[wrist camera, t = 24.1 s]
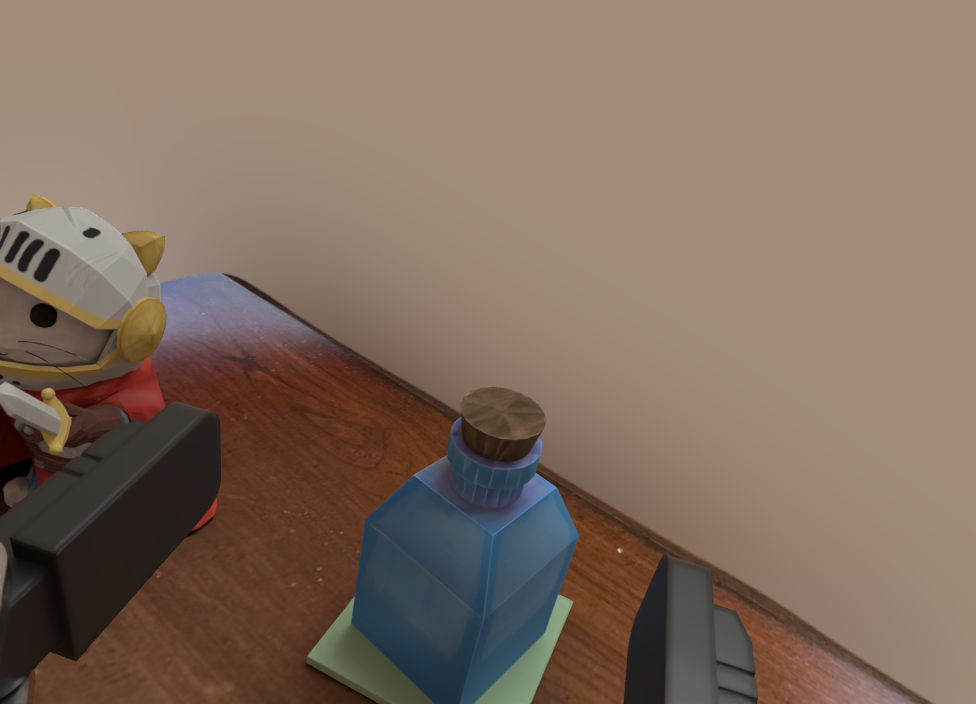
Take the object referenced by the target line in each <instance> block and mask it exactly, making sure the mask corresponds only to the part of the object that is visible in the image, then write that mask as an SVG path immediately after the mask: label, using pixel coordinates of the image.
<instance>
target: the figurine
mask: <svg viewBox="0 0 976 704" xmlns="http://www.w3.org/2000/svg"><path fill="white" fill-rule="evenodd" d="M164 244H165V236H162V235H160V234H157V233H154V232H149V231H133V232H128V233H123V234H120V233H119V232H118V231H117V230H116V228H114V226H112V225H111V224H109V223H108V222H106V221H104V220H103V219H101V218H100V217H98V216H96V215H95V214H93V213H92V212H90V211H89V210H87V209H85V208H80V207H56V206H55V205H54V204H53V203H52V202H51V201H49V200H48V199H46V198H44V197H41V196H37V195H34V194H33V195H32V197H31V199H30V201H29V203H28V205H27V209H26V211H24V212H21V213H18V214H14V215H11V216H8V217H5V218H2V219H0V468H2V467H5V466H8V465H11V464H14V463H17V462H21V461H24V460H27V459H30V458H32V460H33V463H32V465H31V467H30V471H29V473H28V475H27V476H26V477H17V478H15V479H13V480H11V481H10V482H8V483H7V484H6V485H5V486H4V489H3V491H4V498H5V502H6V504H7V505H8V506H10V507H13V506H15V505H16V504H17V503H18V502H20V501H21V500H22V499H23V498H25V497H26V496H27V495H28V494H30V493H31V492H32V491H33V490H35V489H36V488H37V487H39V486H40V485H41V484H42V483H44V482H45V481H46V480H47V479H49V478H50V477H51V476H52V475H54V474H55V473H56V472H57V471H58V472H61V471H62V469H63V467H64V466H65V465H66V464H67V463H69V462H70V461H71V460H72V459H74V458H75V457H76V456H81V454H82V451H84V450H85V449H86V448H87V447H89V446H90V445H91V444H92V443H94V442H95V441H96V440H97V439H99V438H100V437H101V436H102V435H104V434H105V433H107V432H109V431H111V430H114V429H116V428H119V427H121V426H123V425H126V424H128V423H130V422H133V421H135V420H139V421H142V422H145V423H146V422H148V421H149V420H150V419H151V418H152V417H153V416H155V415H156V414H157V413H158V412H159V411H161V410H162V409H163V408H164V407H165V403H164V400H163V397H162V394H161V391H160V388H159V385H158V381H157V378H156V374H155V371H154V367H153V364H152V360H151V359H150V357H149V356H150V355H151V354H152V353H153V352H154V350H155V349H156V348H157V346H158V345H159V343H160V341H161V339H162V337H163V334H164V330H165V327H166V311H165V308H164V305H163V304H162V303H161V287H160V283H159V281H158V278H157V275H156V273H155V269H156V267H157V265H158V264H159V262H160V260H161V258H162V254H163V251H164ZM216 506H217V499H216V498H215V500H214V503H213V504H212V506H211V508H210V509H209V511H208V512H207V513H206V514H205V515H204V517H203V518H202V519H201V520H200V521H199V522H198V523H197V525H196V526H195V527H194V528H193V529H192V530H191V531H193V530H196V529H198V528H199V527H201V526H202V525H203V524H204V523H205V522H207V521H208V520H209V519H210V518H211V517H213V516H214V515H215V513H216Z"/></svg>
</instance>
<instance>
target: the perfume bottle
mask: <svg viewBox="0 0 976 704" xmlns="http://www.w3.org/2000/svg"><path fill="white" fill-rule="evenodd" d="M545 423H546V418H545V414H544V412H543V410H542V409H541V407H540V406H539V405H538V404H537V403H535V402H534V401H533V400H532V399H531V398H529V397H527V396H525V395H523V394H521V393H519V392H516V391H513V390H509V389H505V388H496V387H488V388H480V389H476V390H473V391H471V392H469V393H468V394H467V395H465V396H464V398H463V399H462V402H461V417H460V418H459V419H458V420H456V421H455V423H454V425H453V427H452V429H451V433H450V438H449V443H448V448H447V456H445V457H444V458H442V459H440V460H438V461H437V462H435V463H433V464H431V465H430V466H428V467H426V468H425V469H423V470H421V471H419V472H418V473H416V474H414V475H413V476H412V477H411V478H410V479H409V480H407V481H406V482H405V483H404V484H403V485H402V486H401V487H400V488H399V489H398V490H397V491H396V492H394V493H393V494H392V495H391V496H390V497H389V498H388V499H387V500H386V501H385V502H384V503H383V504H381V505H380V506H379V507H378V508H377V509H376V510H375V511H374V512H373V513H372V514H371V515H370V516H369V517H367V518H366V519H365V525H364V533H363V540H362V547H361V554H360V562H359V569H358V576H357V584H356V591H355V598H354V605H353V613H352V620H351V623H352V624H353V625H354V626H355V627H356V628H357V629H358V630H359V631H360V632H361V633H362V634H363V635H364V636H365V637H366V638H367V639H368V640H369V641H370V642H372V643H373V644H374V645H375V646H376V647H377V648H378V649H379V650H380V651H381V652H382V653H383V654H384V655H385V656H386V657H387V658H388V659H389V660H390V661H391V662H392V663H393V664H394V665H395V666H396V667H397V668H398V669H399V670H400V671H401V672H402V673H404V674H405V675H406V676H407V677H408V678H409V679H410V680H411V681H412V682H413V683H414V684H415V685H416V686H417V687H418V688H419V689H420V690H421V691H422V692H423V693H424V694H425V695H426V696H427V697H428V698H429V699H430V700H431V701H432V702H433V703H434V704H474V703H475V702H476V701H477V700H478V699H479V698H480V697H481V696H482V695H483V694H484V693H485V692H486V691H487V690H488V689H489V688H490V687H491V686H492V685H493V684H494V683H495V682H496V681H497V680H498V679H499V678H500V677H501V676H502V675H503V674H504V673H505V672H506V671H507V670H508V669H509V668H510V667H511V666H512V665H513V664H514V663H515V662H516V661H517V660H518V659H519V658H520V657H521V656H522V655H523V654H524V653H525V652H526V651H527V650H528V649H529V648H530V647H531V646H532V645H533V644H534V643H535V642H536V641H537V640H538V639H539V638H540V637H541V636H542V635H543V634H544V633H545V631H546V628H547V625H548V623H549V620H550V617H551V614H552V611H553V608H554V606H555V603H556V600H557V597H558V594H559V591H560V588H561V586H562V583H563V580H564V577H565V574H566V571H567V569H568V566H569V563H570V560H571V557H572V554H573V552H574V549H575V546H576V543H577V540H578V537H579V535H578V533H577V530H576V528H575V526H574V524H573V522H572V520H571V517H570V515H569V513H568V511H567V509H566V507H565V504H564V502H563V500H562V498H561V496H560V493H559V491H558V489H557V487H555V486H554V485H552V484H551V483H549V482H548V481H546V480H545V479H543V478H542V477H541V476H539V475H538V474H536V473H535V472H536V469H537V465H538V462H539V458H540V455H541V451H542V444H541V439H540V437H539V436H540V434H541V433H542V431H543V429H544V427H545Z"/></svg>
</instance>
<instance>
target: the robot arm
mask: <svg viewBox="0 0 976 704" xmlns="http://www.w3.org/2000/svg"><path fill="white" fill-rule="evenodd" d="M220 482H221V449H220V420H219V417H218V415H217V414H215V413H213V412H210V411H206V410H203V409H200V408H197V407H194V406H190V405H187V404H184V403H181V402H176V401H175V402H172V403H170V404H168V405H167V406H165V407H164V408H163V409H162V410H161V411H159V412H158V413H157V414H156V415H155V416H153V417H152V418H151V419H150V420H149V421H148V422H146V423H145V422H142V421H139V420H135V421H133V422H130V423H128V424H126V425H123V426H121V427H119V428H116V429H114V430H111V431H109V432H107V433H105V434H104V435H102V436H101V437H100V438H99V439H97V440H96V441H95V442H94V443H92V444H91V445H90V446H89V447H87V448H86V449H85V450H84V451H82V454H81V456H76V457H75V458H74V459H72V460H71V461H70V462H69V463H67V464H66V465H65V466H64V467H63V469H62V471H61V472H58V471H57V472H56V473H55V474H54V475H52V476H51V477H50V478H49V479H47V480H46V481H45V482H44V483H42V484H41V485H40V486H39V487H37V488H36V489H35V490H33V491H32V492H31V493H30V494H28V495H27V496H26V497H25V498H23V499H22V500H21V501H20V502H18V503H17V504H16V505H15V506H13V507H12V508H11V509H10V510H8V511H7V512H6V513H5V514H3V515H2V516H1V517H0V704H33V695H34V685H35V672H34V668H35V667H36V666H37V665H38V664H39V663H40V662H41V661H42V660H43V659H44V658H45V657H46V656H47V654H48V653H49V652H52V653H55V654H58V655H60V656H63V657H66V658H69V659H71V660H74V661H77V660H78V659H79V658H80V656H81V655H82V654H83V653H84V652H85V651H86V650H87V648H88V647H89V646H90V645H91V644H92V643H93V642H94V640H95V639H96V638H97V637H98V636H99V635H100V634H101V633H102V631H103V630H104V629H105V628H106V627H107V626H108V625H109V623H110V622H111V621H112V620H113V619H114V618H115V617H116V615H117V614H118V613H119V612H120V611H121V610H122V609H123V608H124V606H125V605H126V604H127V603H128V602H129V601H130V600H131V598H132V597H133V596H134V595H135V594H136V593H137V592H138V590H139V589H140V588H141V587H142V586H143V585H144V584H145V583H146V581H147V580H148V579H149V578H150V577H151V576H152V575H153V573H154V572H155V571H156V570H157V569H158V568H159V567H160V565H161V564H162V563H163V562H164V561H165V560H166V559H167V558H168V556H169V555H170V554H171V553H172V552H173V551H174V550H175V548H176V547H177V546H178V545H179V544H180V543H181V542H182V540H183V539H184V538H185V537H186V536H187V535H188V534H189V533H190V531H191V530H192V529H193V528H194V527H195V526H196V525H197V523H198V522H199V521H200V520H201V519H202V518H203V517H204V515H205V514H206V513H207V512H208V511H209V509H210V508H211V506H212V504H213V503H214V500H215V498H216V496H217V494H218V490H219V487H220ZM754 675H755V667H754V658H753V648H752V641H751V639H750V637H749V635H748V634H747V632H746V630H745V628H744V626H743V624H742V622H741V620H740V618H739V616H738V614H737V612H736V611H734V610H731V609H728V608H725V607H721V606H718V605H715V604H713V586H712V574H711V570H710V569H709V568H707V567H703V566H700V565H697V564H694V563H690V562H687V561H684V560H681V559H678V558H674V557H671V556H668V555H664V556H663V557H662V559H661V560H660V562H659V564H658V567H657V569H656V571H655V574H654V576H653V578H652V580H651V583H650V585H649V587H648V590H647V592H646V594H645V596H644V599H643V601H642V603H641V606H640V608H639V610H638V613H637V615H636V618H635V621H634V624H633V628H632V631H631V636H630V641H629V647H628V655H627V668H626V681H625V694H624V704H757V699H758V695H757V686H756V679H754Z"/></svg>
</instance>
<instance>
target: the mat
mask: <svg viewBox="0 0 976 704" xmlns="http://www.w3.org/2000/svg"><path fill="white" fill-rule="evenodd" d="M354 598H355V597H354ZM354 598H353V599H352V600H351V602H350V603H349V604H348V605H347V607H346V608H345V609H344V610H343V612H342V613H341V614H340V615H339V617H338V618H337V619H336V620H335V622H334V623H333V624H332V625H331V627H330V628H329V629H328V630H327V632H326V633H325V634H324V635H323V636H322V638H321V639H320V640H319V641H318V643H317V644H316V645H315V646H314V648H313V649H312V650H311V651H310V653H309V654H308V655H307V661H306V663H307V664H309V665H311V666H312V667H314V668H316V669H318V670H320V671H321V672H323V673H325V674H327V675H329V676H330V677H332V678H334V679H336V680H337V681H339V682H341V683H343V684H345V685H346V686H348V687H350V688H352V689H354V690H355V691H357V692H359V693H361V694H363V695H364V696H366V697H368V698H370V699H371V700H373V701H375V702H377V703H379V704H434V703H433V702H432V701H431V700H430V699H429V698H428V697H427V696H426V695H425V694H424V693H423V692H422V691H421V690H420V689H419V688H418V687H417V686H416V685H415V684H414V683H413V682H412V681H411V680H410V679H409V678H408V677H407V676H406V675H405V674H404V673H402V672H401V671H400V670H399V669H398V668H397V667H396V666H395V665H394V664H393V663H392V662H391V661H390V660H389V659H388V658H387V657H386V656H385V655H384V654H383V653H382V652H381V651H380V650H379V649H378V648H377V647H376V646H375V645H374V644H373V643H372V642H370V641H369V640H368V639H367V638H366V637H365V636H364V635H363V634H362V633H361V632H360V631H359V630H358V629H357V628H356V627H355V626H354V625H353V624H352V623H351V620H352V613H353V605H354ZM572 605H573V601H571V600H569V599H567V598H565V597H563V596H561V595H559V594H558V597H557V600H556V603H555V606H554V608H553V611H552V614H551V617H550V620H549V623H548V625H547V628H546V631H545V633H544V634H543V635H542V636H541V637H540V638H539V639H538V640H537V641H536V642H535V643H534V644H533V645H532V646H531V647H530V648H529V649H528V650H527V651H526V652H525V653H524V654H523V655H522V656H521V657H520V658H519V659H518V660H517V661H516V662H515V663H514V664H513V665H512V666H511V667H510V668H509V669H508V670H507V671H506V672H505V673H504V674H503V675H502V676H501V677H500V678H499V679H498V680H497V681H496V682H495V683H494V684H493V685H492V686H491V687H490V688H489V689H488V690H487V691H486V692H485V693H484V694H483V695H482V696H481V697H480V698H479V699H478V700H477V701H476V702H475V703H474V704H531V702H532V700H533V698H534V695H535V693H536V691H537V688H538V686H539V683H540V681H541V679H542V676H543V674H544V672H545V669H546V667H547V664H548V662H549V660H550V657H551V655H552V653H553V650H554V648H555V645H556V643H557V641H558V638H559V636H560V634H561V631H562V629H563V626H564V624H565V622H566V619H567V617H568V615H569V612H570V610H571V607H572Z"/></svg>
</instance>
